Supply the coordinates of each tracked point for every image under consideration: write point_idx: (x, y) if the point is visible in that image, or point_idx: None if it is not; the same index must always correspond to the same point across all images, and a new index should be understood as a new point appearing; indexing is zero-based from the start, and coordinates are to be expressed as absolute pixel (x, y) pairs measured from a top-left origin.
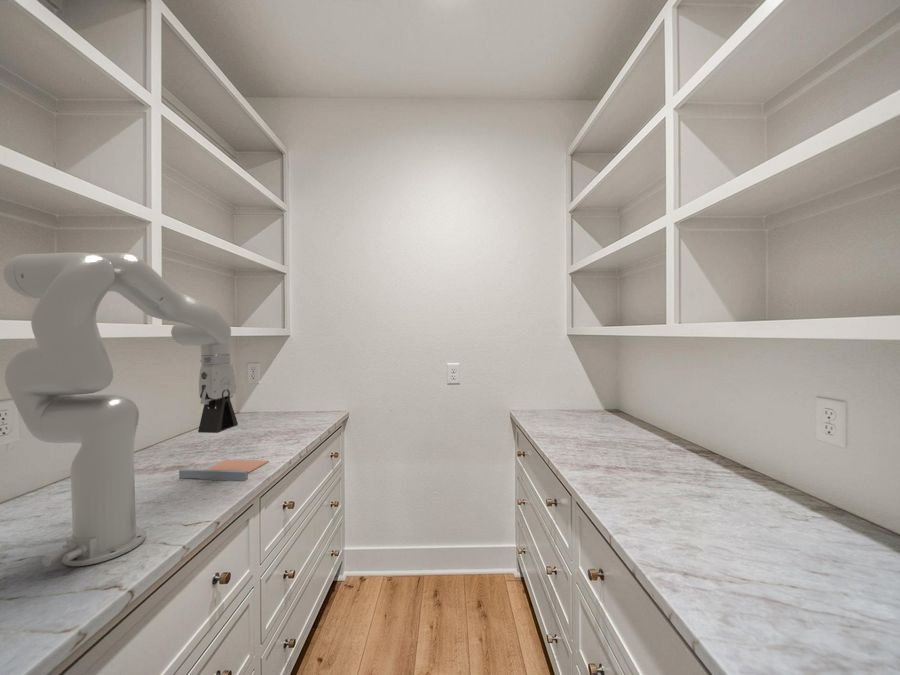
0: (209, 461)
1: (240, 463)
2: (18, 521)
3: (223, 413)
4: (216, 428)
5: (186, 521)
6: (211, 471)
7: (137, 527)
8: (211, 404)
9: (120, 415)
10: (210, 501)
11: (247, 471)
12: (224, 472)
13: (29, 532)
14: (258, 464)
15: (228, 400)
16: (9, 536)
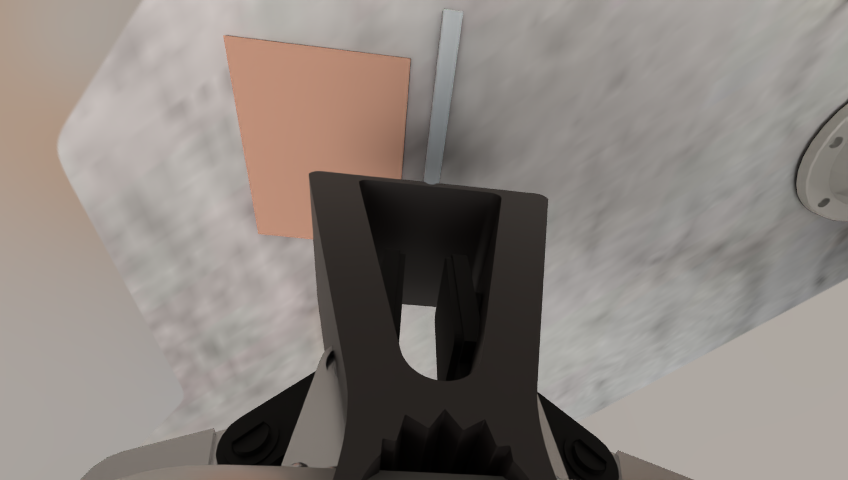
0: (279, 278)
1: (285, 156)
2: (616, 392)
3: (401, 295)
4: (546, 212)
5: (814, 15)
6: (439, 180)
7: (837, 131)
8: (589, 440)
9: None
10: (652, 38)
11: (444, 9)
12: (446, 124)
13: (680, 348)
14: (280, 62)
15: (392, 376)
16: (685, 363)
